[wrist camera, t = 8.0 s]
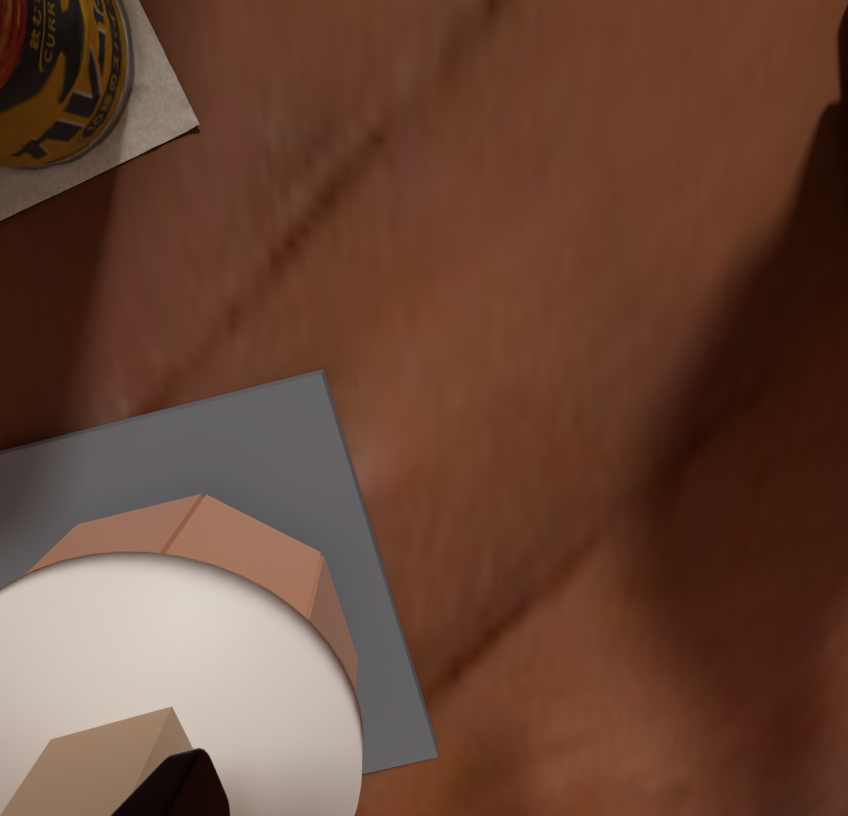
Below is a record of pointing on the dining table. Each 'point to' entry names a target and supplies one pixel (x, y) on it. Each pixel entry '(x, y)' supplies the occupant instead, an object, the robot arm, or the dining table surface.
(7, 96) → the condiment
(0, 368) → the dining table surface
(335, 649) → the bowl
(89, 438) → the mat
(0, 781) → the lid
